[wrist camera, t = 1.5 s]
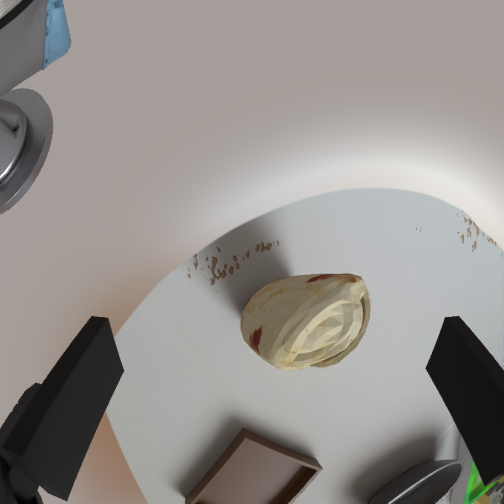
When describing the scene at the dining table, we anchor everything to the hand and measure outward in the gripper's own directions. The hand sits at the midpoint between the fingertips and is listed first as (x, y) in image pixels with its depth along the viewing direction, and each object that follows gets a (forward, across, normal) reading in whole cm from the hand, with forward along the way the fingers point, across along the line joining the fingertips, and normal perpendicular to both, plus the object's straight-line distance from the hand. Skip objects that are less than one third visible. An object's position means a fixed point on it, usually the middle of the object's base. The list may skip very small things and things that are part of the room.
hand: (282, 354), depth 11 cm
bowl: (+12, +27, -48) cm, 56 cm away
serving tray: (+12, -2, -37) cm, 39 cm away
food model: (+25, 0, -14) cm, 28 cm away
